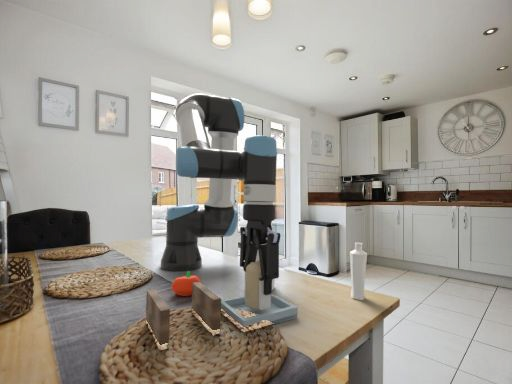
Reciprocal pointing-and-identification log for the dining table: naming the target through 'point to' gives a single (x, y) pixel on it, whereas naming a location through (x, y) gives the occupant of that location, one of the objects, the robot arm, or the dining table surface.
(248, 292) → the candle
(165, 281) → the dining table surface
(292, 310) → the tray
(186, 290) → the orange pumpkin
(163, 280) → the dining table surface
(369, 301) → the dining table surface
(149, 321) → the cradle
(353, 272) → the perfume bottle
